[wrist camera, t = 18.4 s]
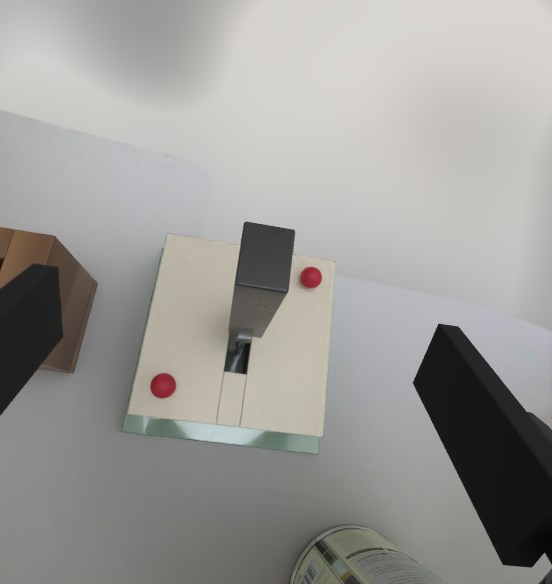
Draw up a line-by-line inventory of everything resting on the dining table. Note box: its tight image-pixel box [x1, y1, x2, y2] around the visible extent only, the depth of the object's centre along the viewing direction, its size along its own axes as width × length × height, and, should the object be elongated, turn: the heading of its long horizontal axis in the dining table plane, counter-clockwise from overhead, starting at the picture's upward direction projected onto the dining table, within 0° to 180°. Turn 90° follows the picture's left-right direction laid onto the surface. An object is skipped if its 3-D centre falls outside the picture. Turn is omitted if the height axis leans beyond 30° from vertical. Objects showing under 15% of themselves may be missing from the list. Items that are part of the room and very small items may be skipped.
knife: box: [228, 222, 295, 365], centre depth 25 cm, size 2×3×21 cm, turn 173°
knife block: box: [0, 227, 97, 373], centre depth 29 cm, size 6×8×10 cm
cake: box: [128, 233, 336, 437], centre depth 31 cm, size 13×13×8 cm
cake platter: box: [122, 248, 320, 454], centre depth 35 cm, size 16×16×1 cm
